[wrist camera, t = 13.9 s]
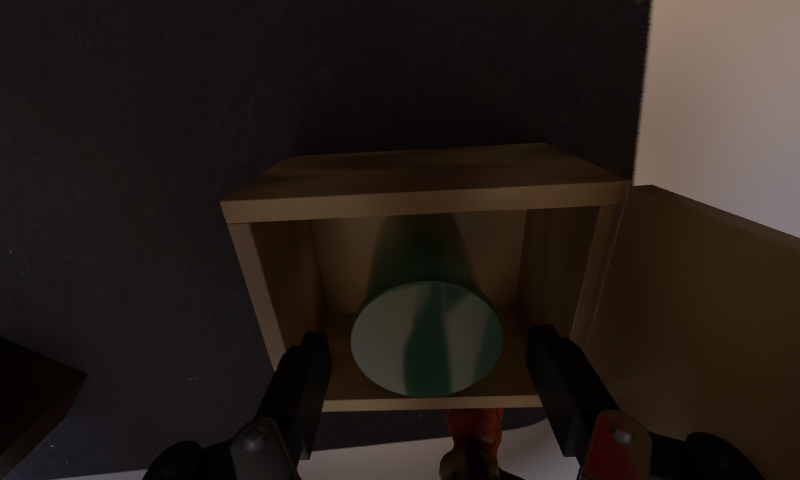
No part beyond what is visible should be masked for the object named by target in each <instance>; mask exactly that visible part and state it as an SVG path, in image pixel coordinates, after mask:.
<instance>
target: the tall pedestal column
mask: <svg viewBox="0 0 800 480" xmlns="http://www.w3.org/2000/svg"><path fill="white" fill-rule="evenodd" d="M85 378H86V375H84V374H82V373H80V372H78V371H75V370H73V369H71V368H68V367H66V366H64V365H62V364H59V363H57V362H55V361H52V360H50V359H48V358H46V357H43V356H41V355H39V354H36V353H34V352H32V351H30V350H27V349H25V348H23V347H21V346H18V345H16V344H14V343H11V342H9V341H7V340H5V339H2V338H0V480H2V479H3V478H4V477H5V476H6V475H7V474H8V473H9V472H10V471H11V470H12V469H13V468H14V467H15V466H16V465H17V464H18V463H19V462H21V461H22V460H23V459H24V458H25V457H26V456H27V455H28V454H29V453H30V452H31V451H32V450H33V449H34V448H35V447H36V446H37V445H38V444H39V443H40V442H41V441H42V440H43V439H44V438H45V437H46V436H47V435H48V434H49V433H50V432H51V431H52V430H53V429H54V428H55V427H56V426H57V425H58V424H59V423H60V422H61V421H62V420H63V419H64V418H65V417H66V415H67V413H68V411H69V409H70V407H71V405H72V403H73V402H74V400H75V398H76V396H77V394H78V392H79V390H80V388H81V386H82V384H83V382H84V380H85Z"/></svg>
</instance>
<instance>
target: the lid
mask: <svg viewBox="0 0 800 480" xmlns="http://www.w3.org/2000/svg"><path fill="white" fill-rule="evenodd" d="M586 357H587V359H588V362H590V363H591V365H592V367H593V368H594V371H595V372H596V373H597V374H598V376H599V377H600V379H601V380H602V382H603V383H604V385H605V387H606V388H607V390H608V391H609V393H610V394H611V396H612V397H613V399H614V400H615V402H616V404H617V405H618V407H619V408H620V410H621V411H622V412H624V413H627V414H629V415H630V416H632V417H634V418H635V419H636V420H638V421H639V422H640V423H641V424H642V425H643V426H644V427H645V428H646V429H647V430H648V431H650V432H653V433H656V434H659V435H663V436H667V437H671V438H675V439H678V440H682V441H685V440H686V438H687V436H688V435H689V434H691V433H693V432H705V433H710V434H713V435H715V436H718V437H720V438H722V439H724V440H726V441H727V442H729V443H730V444H732V445H733V446H735V447H736V448H737V449H739V450H740V451H741V452H742V453H743V454H744V455H745V456H746V457H747V458H748V460H749V461H750V462H751V463H752V464H753V466H754V467H755V468H756V469H757V470H758V471H759V473H760V474H761V475H762V476H763V477H764V479H765V480H800V238H798V237H795V236H792V235H790V234H786V233H784V232H781V231H778V230H776V229H772V228H770V227H767V226H764V225H762V224H759V223H756V222H754V221H751V220H748V219H745V218H742V217H740V216H737V215H734V214H731V213H729V212H726V211H723V210H720V209H718V208H715V207H712V206H709V205H707V204H704V203H701V202H698V201H695V200H693V199H690V198H687V197H684V196H681V195H679V194H676V193H673V192H670V191H668V190H665V189H662V188H659V187H657V186H654V185H642V186H632V187H631V188H630V191H629V195H628V198H627V202H626V206H625V210H624V213H623V217H622V221H621V225H620V228H619V232H618V236H617V240H616V243H615V247H614V251H613V255H612V258H611V262H610V266H609V270H608V273H607V277H606V281H605V284H604V288H603V292H602V296H601V299H600V303H599V307H598V311H597V314H596V318H595V322H594V326H593V329H592V333H591V337H590V341H589V344H588V348H587V352H586Z"/></svg>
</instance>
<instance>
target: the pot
mask: <svg viewBox="0 0 800 480" xmlns="http://www.w3.org/2000/svg"><path fill="white" fill-rule="evenodd" d="M503 340H504V337H503V328H502V324H501V321H500V319H499V316H498V314H497V311H496V309H495V307H494V306H493V304H492V302H491V301H490V300H489V299H488V298H487V296H486V295H485V294H484V293H483V291H482V288H481V285H480V283H479V280H478V277H477V274H476V272H475V269H474V266H473V263H472V261H471V258H470V255H469V252H468V250H467V247H466V244H465V241H464V239H463V236H462V233H461V231H460V228H459V227H458V225H457V224H456V222H455V221H454V220H453V219H452V218H451V217H450V216H449V215H447V214H446V213H437V214H416V215H395V216H389V217H388V218H387V219H386V220H385V221H384V222H383V223H382V224H381V226H380V227H379V229H378V231H377V234H376V237H375V242H374V247H373V252H372V257H371V263H370V268H369V273H368V278H367V283H366V288H365V294H364V299H363V302H362V303H361V304H360V306H359V308H358V309H357V311H356V313H355V316H354V319H353V323H352V327H351V333H350V347H351V352H352V355H353V358H354V360H355V362H356V364H357V365H358V367H359V368H360V369H361V371H362V372H363V373H364V374H365V375H366V376H367V377H368V378H369V379H370V380H372V381H373V382H374V383H376V384H378V385H379V386H381V387H383V388H385V389H387V390H389V391H392V392H395V393H398V394H402V395H406V396H412V397H437V396H444V395H449V394H452V393H456V392H459V391H461V390H464V389H466V388H468V387H470V386H472V385H474V384H475V383H477V382H478V381H480V380H481V379H482V378H483V377H484V376H486V375H487V374H488V373H489V372H490V370H491V369H492V368H493V367H494V365H495V364H496V362H497V361H498V358H499V356H500V354H501V351H502V347H503Z"/></svg>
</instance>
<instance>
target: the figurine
mask: <svg viewBox="0 0 800 480" xmlns="http://www.w3.org/2000/svg"><path fill="white" fill-rule="evenodd" d="M441 412H442V414H443V417H444V419H445V420H446V421H448V422H447V426H448V430H449V432H450V434H451V436H452V438H453V441H454V447H453V449H452V450H451V451H450V452H448V453H446V454H445V455H444V456H443V458H442V460H441V462H440V469H439V476H440V478H441V480H524V479H522V478H520V477H518V476H515V475H512V474H510V473H507V472H505V471H503V470H501V468H500V467H499V466H498V462H497V450H498V447H499V444H500V443H501V437H502V428H501V424H500V422H501V420H502V417H503V408H463V409H441Z"/></svg>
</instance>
